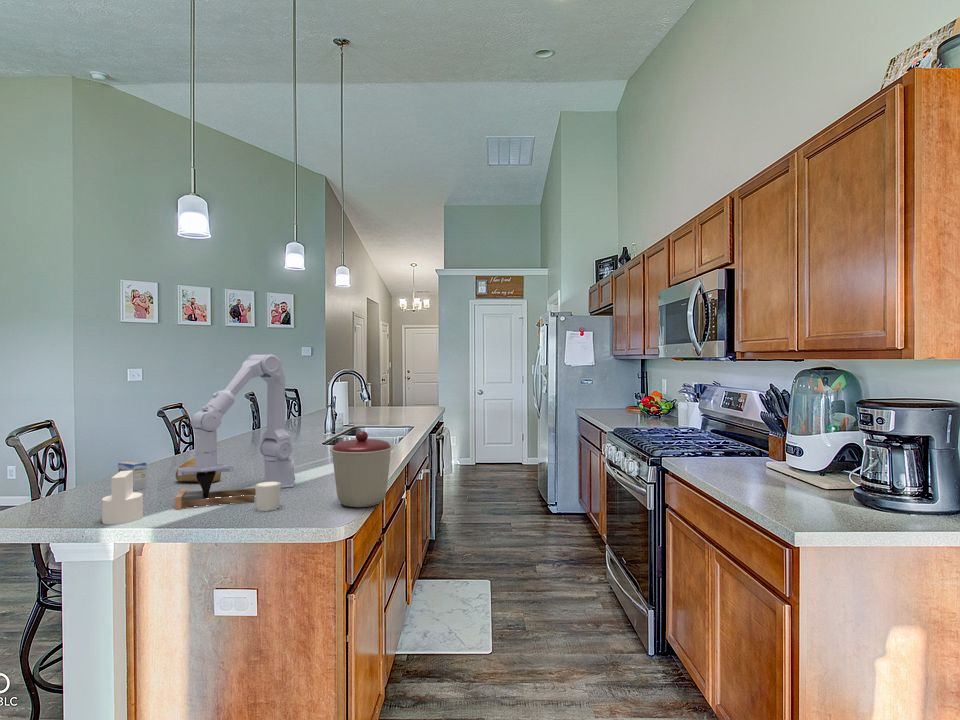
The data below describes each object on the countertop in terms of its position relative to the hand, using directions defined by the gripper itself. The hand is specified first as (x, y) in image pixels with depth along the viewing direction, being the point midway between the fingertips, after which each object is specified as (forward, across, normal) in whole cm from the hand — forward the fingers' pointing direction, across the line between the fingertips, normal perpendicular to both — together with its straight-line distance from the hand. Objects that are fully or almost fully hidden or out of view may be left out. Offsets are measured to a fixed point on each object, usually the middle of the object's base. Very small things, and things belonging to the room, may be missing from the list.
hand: (206, 497), depth 159 cm
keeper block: (+1, -3, 0) cm, 4 cm away
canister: (+2, +43, -17) cm, 46 cm away
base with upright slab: (+2, -19, -10) cm, 21 cm away
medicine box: (+2, -25, +27) cm, 37 cm away
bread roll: (+2, -6, +31) cm, 31 cm away
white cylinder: (+2, +17, -13) cm, 22 cm away
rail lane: (+1, +3, 0) cm, 3 cm away
